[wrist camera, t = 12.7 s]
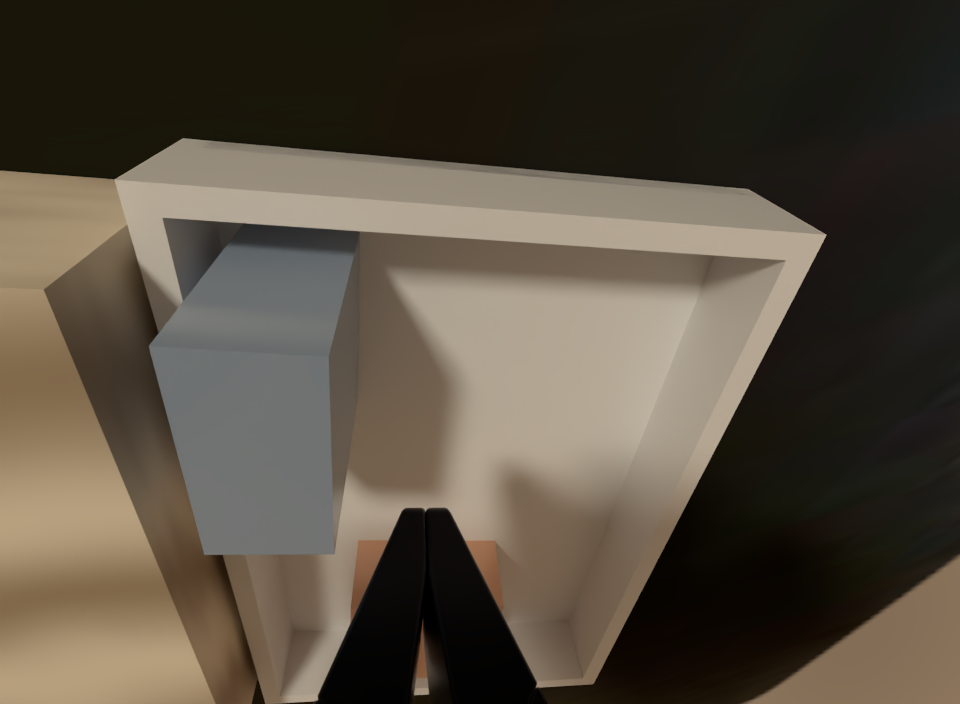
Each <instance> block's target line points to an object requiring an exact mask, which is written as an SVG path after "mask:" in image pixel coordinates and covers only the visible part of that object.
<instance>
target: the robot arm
mask: <svg viewBox="0 0 960 704" xmlns="http://www.w3.org/2000/svg"><path fill="white" fill-rule="evenodd" d="M422 622H423V639H424V650H425V660H426V670H427V679H428V689H429V699H430V704H548V703H547V701H546V699H545V697H544V695H543V693H542V691H541V689H540V688H539V687H537V688H536V686H537V681H536V679H535V677H534V675H533V673H532V672H531V670H530V668H529V666H528V664H527V662H526V660H525V658H524V656H523V654H522V652H521V650H520V648H519V646H518V644H517V642H516V640H515V638H514V636H513V634H512V632H511V630H510V628H509V626H508V624H507V622H506V620H505V618H504V616H503V614H502V612H501V610H500V608H499V606H498V605H497V603H496V601H495V599H494V597H493V595H492V593H491V591H490V589H489V587H488V585H487V583H486V581H485V579H484V577H483V575H482V573H481V571H480V569H479V567H478V565H477V563H476V561H475V559H474V557H473V555H472V553H471V551H470V549H469V547H468V545H467V543H466V541H465V539H464V538H463V536H462V534H461V532H460V530H459V528H458V526H457V524H456V522H455V520H454V518H453V516H452V514H451V512H450V511H449V509H447V508H428V509H427V510H426V512H425V509H423V508H405V509H403V510H402V512H401V514H400V516H399V518H398V520H397V522H396V525H395V527H394V529H393V531H392V533H391V536H390V538H389V540H388V542H387V544H386V547H385V549H384V551H383V553H382V555H381V558H380V560H379V562H378V564H377V566H376V569H375V571H374V573H373V575H372V577H371V579H370V582H369V584H368V586H367V588H366V590H365V593H364V595H363V597H362V599H361V601H360V604H359V606H358V608H357V610H356V612H355V615H354V617H353V619H352V621H351V623H350V626H349V628H348V630H347V632H346V634H345V637H344V639H343V641H342V643H341V645H340V647H339V650H338V652H337V654H336V656H335V658H334V661H333V663H332V665H331V667H330V669H329V672H328V674H327V676H326V678H325V680H324V683H323V685H322V687H321V689H320V691H319V694H318V700H316V701H315V702H314V704H413V700H414V692H415V684H416V676H417V668H418V660H419V652H420V644H421V633H422Z"/></svg>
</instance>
